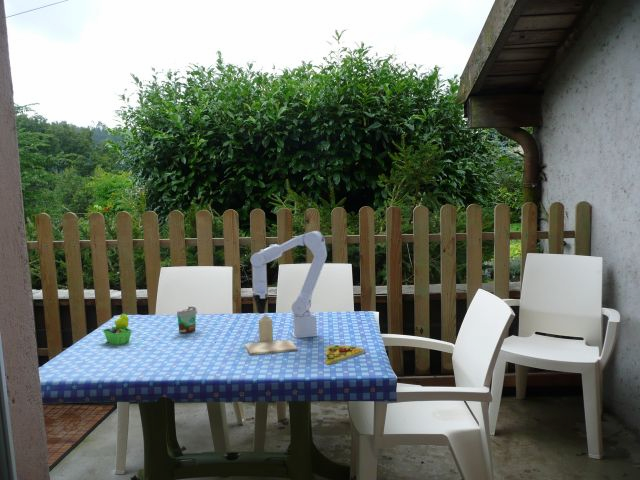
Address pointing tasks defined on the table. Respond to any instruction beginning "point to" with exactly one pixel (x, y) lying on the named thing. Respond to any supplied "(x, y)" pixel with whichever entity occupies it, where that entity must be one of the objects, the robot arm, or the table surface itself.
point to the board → (270, 347)
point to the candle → (265, 329)
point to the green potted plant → (119, 331)
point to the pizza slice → (341, 353)
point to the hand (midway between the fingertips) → (260, 312)
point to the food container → (187, 320)
